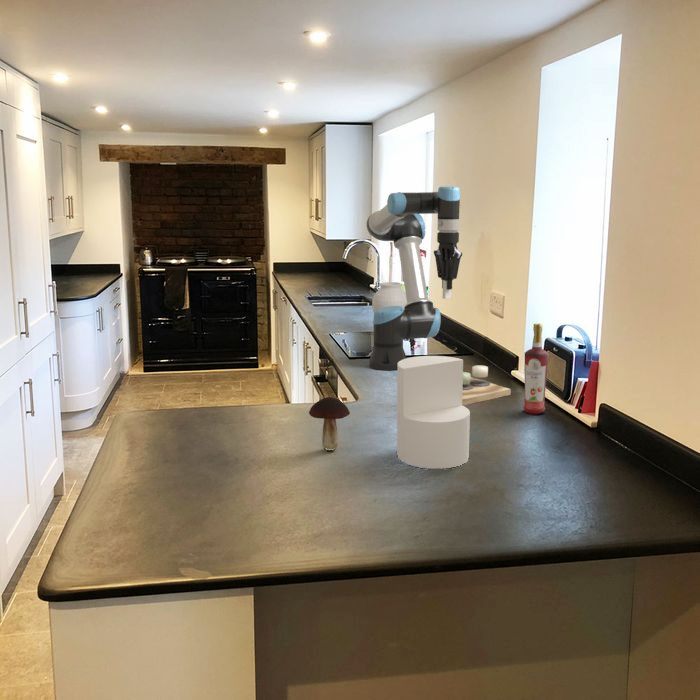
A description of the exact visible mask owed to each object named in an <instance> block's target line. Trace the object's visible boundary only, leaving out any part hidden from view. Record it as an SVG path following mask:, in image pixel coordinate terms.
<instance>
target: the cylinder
mask: <svg viewBox="0 0 700 700" xmlns="http://www.w3.org/2000/svg"><path fill="white" fill-rule="evenodd" d="M463 372H464V359H461V358H458V357H454V356H453V357H452V356H445V355H422V356H421V355H420V356H412V357H411V356H410V357H406V359H403V360H401V361H399V362H398V370H397V375H396V376H397V382H396V383H397V385H396V387H397V389H396V390H397V393H396V395H397V397H396V398H397V399H396V400H397V401H396V403H397V405H396V406H397V408H396V410H397V411H396V413H397V414H396V416H397V417H396V419H397V420H396V421H397V422H396V423H397V424H396V426H397V427H396V428H397V430H396V433H397V434H396V435H397V436H396V455H398V457H399V458H400V459H401V460H403V461H405V462H407V463H410V464H412V465H415V466H419V467H425V468H426V467H427V468H441V469H442V468H451V467H456V466H459V467H461V466H463V465H462V464H464V463H465V464H467V462H469V459H468V458H470V451H469V450H470V431H471V430H470V429H471V428H470V426H471V425H470V424H471V423H470V421H471V412H470V409H469V408H467V407H466V406H465V405H463V406H462V391H463ZM465 464H464V465H465ZM460 465H461V466H460ZM456 468H457V467H456Z"/></svg>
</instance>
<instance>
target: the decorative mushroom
mask: <svg viewBox="0 0 700 700" xmlns="http://www.w3.org/2000/svg"><path fill="white" fill-rule="evenodd" d="M308 414H309V416H311V417H312V418H314V419H323V425H322V435H321V436H322V437H321V438H322V439H321V440H322V447H324V448H327V449H334V448H336V449H337V448H338V445H339V437H338V436H339V435H338V427H337V420H338V419H339V420H340V419H344V418H346V417H348V416H349V415H350V414H351V412H350V410H349V408H348V407H347V405H346V404H345V403H344V402H343V401H341V399H338V398H336V397H334V396H327V397H324V398H321V399H319V400H318V401H316V402H315V403H314V404H313V405H311V407H310V409H309V411H308ZM324 448H323V449H324Z"/></svg>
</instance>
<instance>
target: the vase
mask: <svg viewBox="0 0 700 700" xmlns="http://www.w3.org/2000/svg"><path fill="white" fill-rule="evenodd" d="M402 285H403V283H401V282H395V281H394V282H393V281H390V282H389V281H387V282H382V283H381V282H380V284H379V286H380V288H379V289H378V290H377V291H376V292H375V293H374V295H373V298H372V301H371V307H372V312H373V314H374V313H375V311H376V310H378V309H380V308H384V307H389V306H401V307H403V309H404V307H405V305H406V304H407V298H406V292H405V289H403V288H402Z"/></svg>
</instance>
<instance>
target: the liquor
mask: <svg viewBox="0 0 700 700" xmlns="http://www.w3.org/2000/svg"><path fill="white" fill-rule="evenodd" d="M543 327H544V326H543V323H533V329H532V330H533V339H532V347H531V348H530V349H528V350H526V351H525V352H524V365H523V366H524V368H523V369H524V402H523V403H524V405H523V406H522V409H524V411H525V412H526V413H527V414H530V415H539V414H542V413H543V412H545V410H546V406H545V398H546V389H547V388H546V386H547V379H548V372H549V371H548V368H549V357H550V353H549V352H548V351H546V350H545V349H543V340H542V339H543V338H542V335H543Z"/></svg>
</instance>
